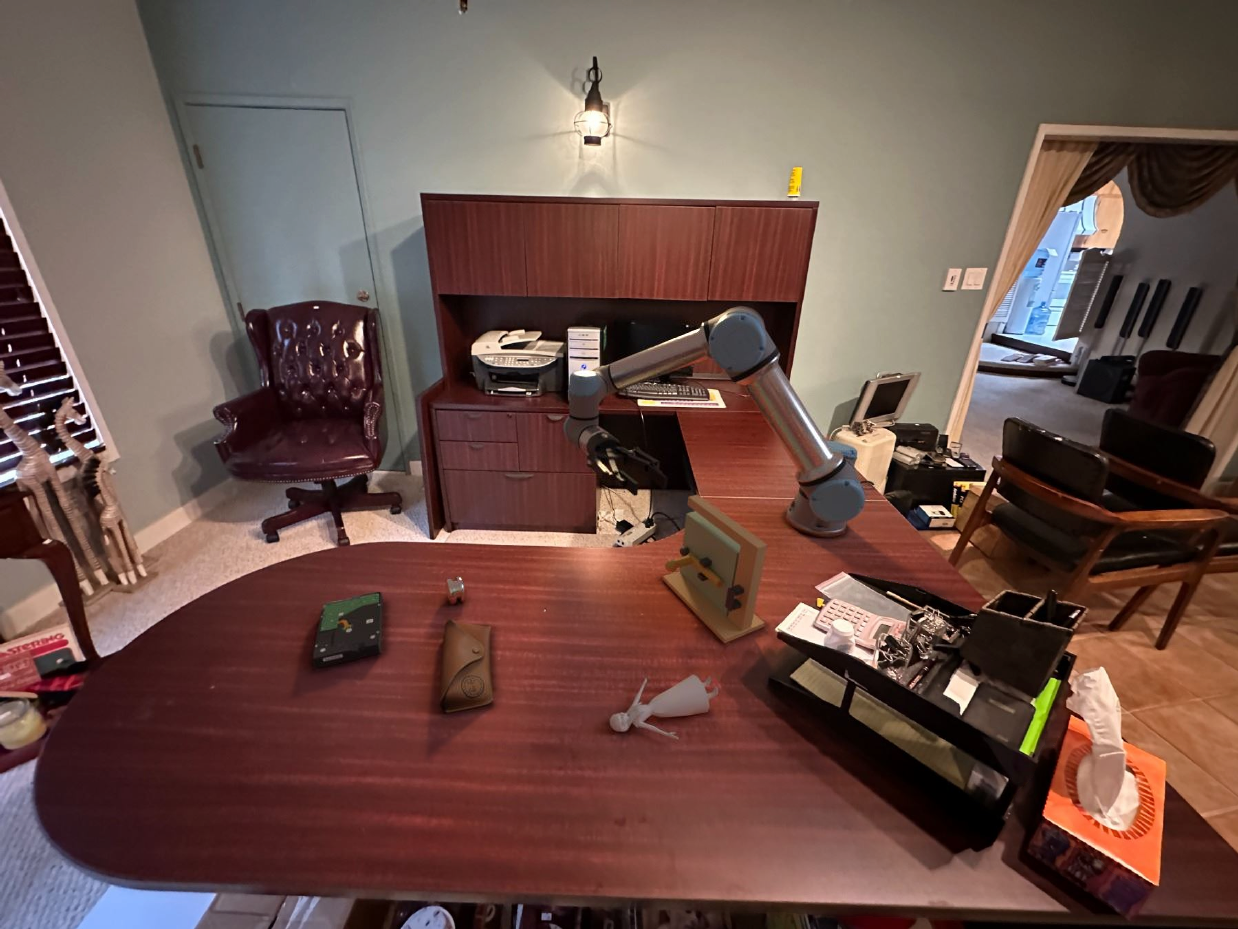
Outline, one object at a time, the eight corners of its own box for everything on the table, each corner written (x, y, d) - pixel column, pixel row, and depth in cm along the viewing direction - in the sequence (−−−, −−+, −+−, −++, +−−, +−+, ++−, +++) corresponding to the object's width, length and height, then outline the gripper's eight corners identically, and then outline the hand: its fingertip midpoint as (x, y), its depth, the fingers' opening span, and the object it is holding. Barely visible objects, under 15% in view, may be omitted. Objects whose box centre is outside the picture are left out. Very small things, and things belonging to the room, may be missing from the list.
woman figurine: (734, 706, 74) (624, 749, 69) (732, 726, 76) (624, 769, 71) (696, 650, 84) (597, 684, 79) (695, 669, 86) (598, 703, 81)
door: (698, 568, 113) (709, 491, 105) (763, 626, 97) (782, 540, 89) (662, 579, 109) (670, 500, 101) (724, 643, 92) (739, 554, 84)
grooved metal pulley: (446, 594, 101) (444, 574, 99) (461, 590, 103) (459, 570, 101) (452, 609, 97) (449, 589, 95) (467, 604, 99) (465, 584, 97)
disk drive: (383, 654, 87) (383, 600, 99) (380, 642, 85) (381, 589, 98) (315, 671, 83) (324, 613, 95) (311, 659, 82) (321, 601, 94)
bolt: (690, 559, 105) (692, 549, 104) (722, 588, 97) (724, 577, 96) (661, 568, 101) (662, 558, 100) (691, 598, 93) (693, 587, 92)
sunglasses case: (497, 701, 78) (471, 679, 75) (459, 725, 78) (432, 704, 75) (491, 623, 94) (470, 601, 91) (460, 643, 94) (438, 622, 90)
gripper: (634, 454, 126) (687, 493, 107) (563, 467, 117) (608, 512, 99) (635, 426, 122) (691, 462, 104) (563, 437, 114) (610, 478, 96)
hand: (651, 486), depth 102 cm, fingers open, 6 cm apart
